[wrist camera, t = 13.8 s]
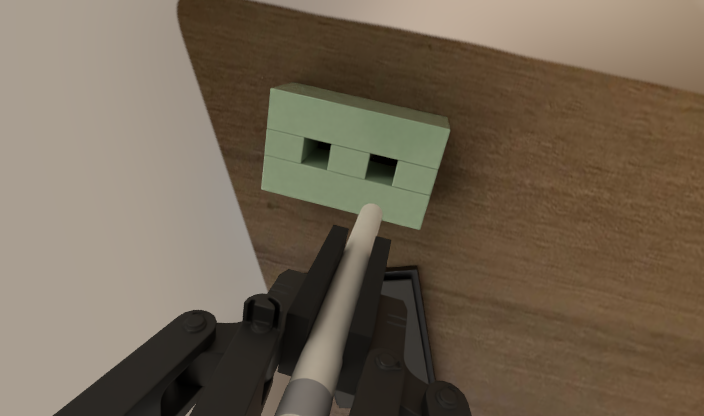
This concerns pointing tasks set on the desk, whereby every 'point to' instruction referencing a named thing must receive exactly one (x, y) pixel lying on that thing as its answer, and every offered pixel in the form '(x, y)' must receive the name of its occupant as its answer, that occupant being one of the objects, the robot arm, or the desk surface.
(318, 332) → the stylus
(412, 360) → the screen
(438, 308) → the desk surface
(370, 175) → the pen stand
